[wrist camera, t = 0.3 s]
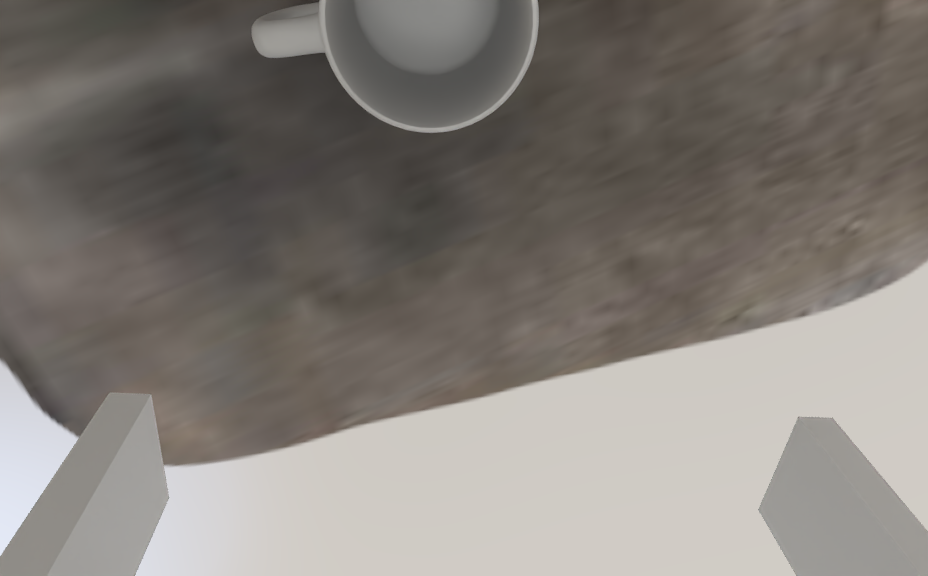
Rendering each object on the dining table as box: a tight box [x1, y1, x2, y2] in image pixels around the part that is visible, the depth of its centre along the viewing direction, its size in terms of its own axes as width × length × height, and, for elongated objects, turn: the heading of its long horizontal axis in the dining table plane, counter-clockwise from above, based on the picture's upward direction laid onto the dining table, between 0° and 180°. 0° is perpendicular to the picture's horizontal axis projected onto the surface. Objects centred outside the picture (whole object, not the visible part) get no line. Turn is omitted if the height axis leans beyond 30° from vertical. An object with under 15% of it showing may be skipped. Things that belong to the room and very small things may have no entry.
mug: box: [251, 0, 539, 133], centre depth 29 cm, size 12×8×11 cm
